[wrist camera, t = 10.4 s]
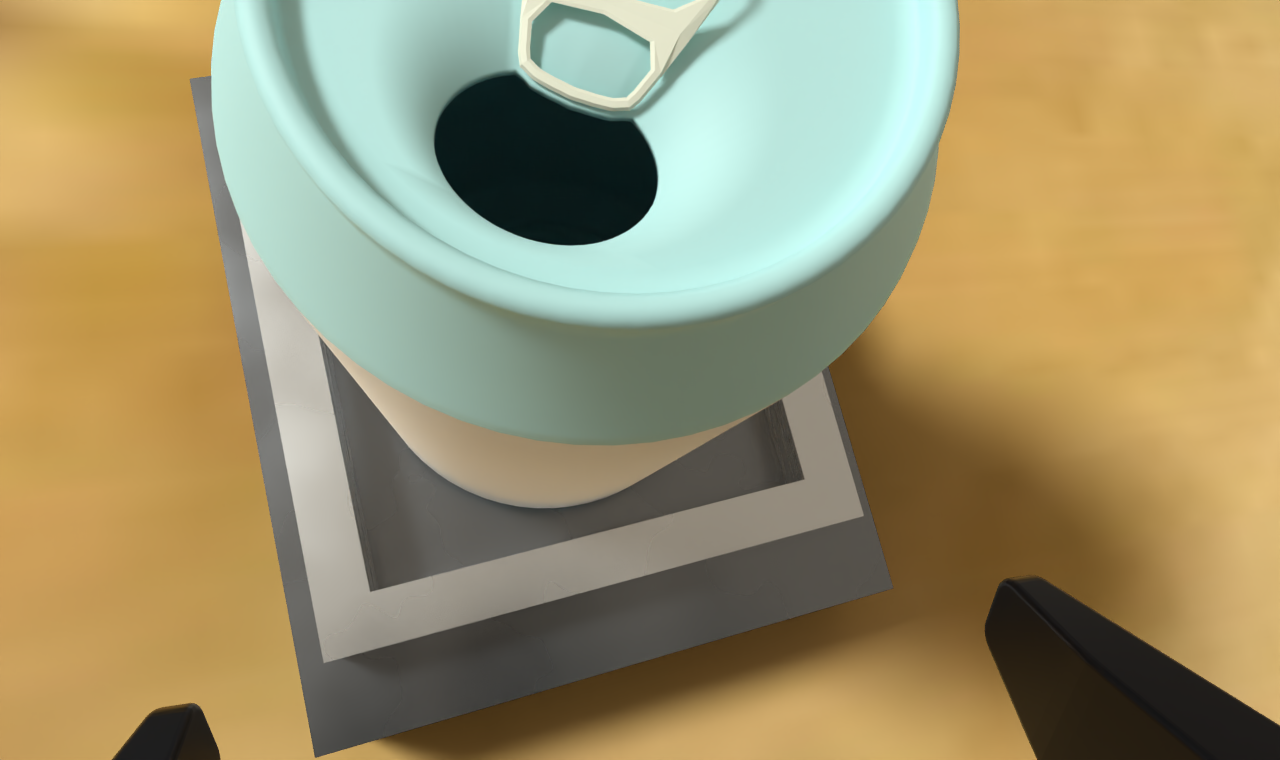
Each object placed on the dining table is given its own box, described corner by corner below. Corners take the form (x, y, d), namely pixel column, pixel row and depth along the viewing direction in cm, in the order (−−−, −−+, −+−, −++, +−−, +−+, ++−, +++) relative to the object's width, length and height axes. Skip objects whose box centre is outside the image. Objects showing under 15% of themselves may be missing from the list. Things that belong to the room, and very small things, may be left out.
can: (750, 453, 19) (1168, 272, 7) (424, 555, 17) (262, 544, 5) (650, 156, 20) (866, -432, 8) (334, 229, 18) (38, -364, 6)
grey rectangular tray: (839, 583, 21) (919, 590, 17) (343, 727, 19) (300, 773, 15) (694, 73, 24) (735, -28, 19) (232, 144, 21) (168, 46, 17)
